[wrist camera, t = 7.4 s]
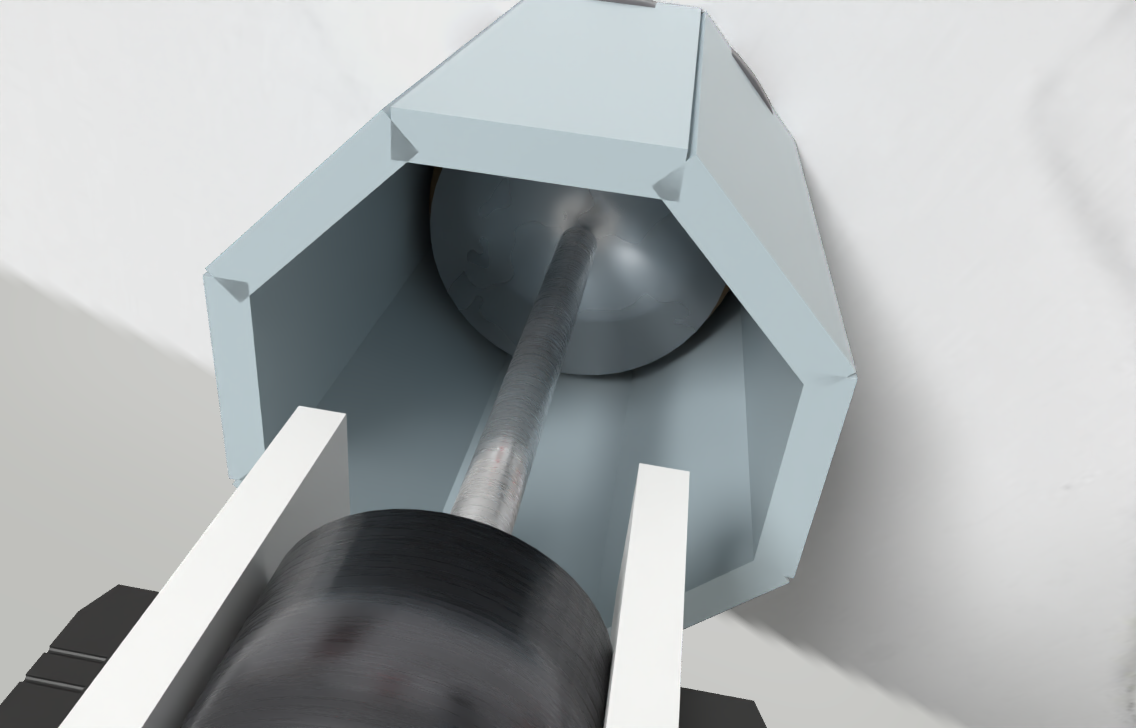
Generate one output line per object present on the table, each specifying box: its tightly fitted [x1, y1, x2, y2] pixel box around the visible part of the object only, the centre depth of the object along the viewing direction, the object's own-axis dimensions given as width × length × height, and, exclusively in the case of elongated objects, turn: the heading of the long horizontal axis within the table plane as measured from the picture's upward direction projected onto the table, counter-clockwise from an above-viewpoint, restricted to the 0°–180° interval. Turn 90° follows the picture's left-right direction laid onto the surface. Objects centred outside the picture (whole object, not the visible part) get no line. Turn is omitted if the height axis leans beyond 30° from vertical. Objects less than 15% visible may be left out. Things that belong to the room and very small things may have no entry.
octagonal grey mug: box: [203, 0, 858, 638], centre depth 22 cm, size 14×11×13 cm
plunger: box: [180, 167, 726, 728], centre depth 16 cm, size 8×8×18 cm
